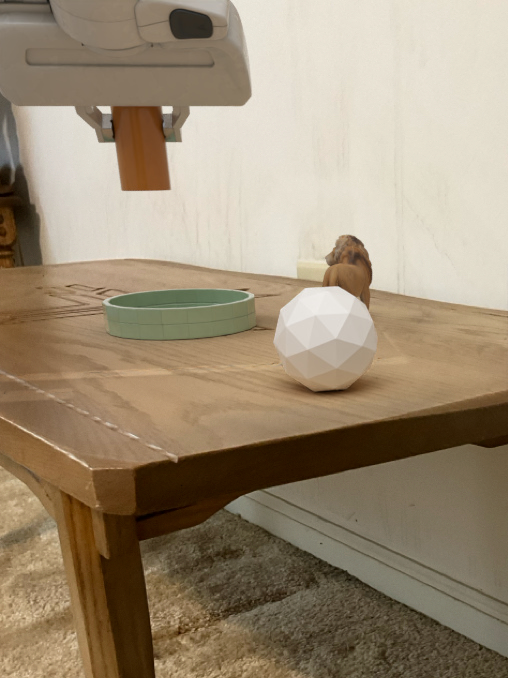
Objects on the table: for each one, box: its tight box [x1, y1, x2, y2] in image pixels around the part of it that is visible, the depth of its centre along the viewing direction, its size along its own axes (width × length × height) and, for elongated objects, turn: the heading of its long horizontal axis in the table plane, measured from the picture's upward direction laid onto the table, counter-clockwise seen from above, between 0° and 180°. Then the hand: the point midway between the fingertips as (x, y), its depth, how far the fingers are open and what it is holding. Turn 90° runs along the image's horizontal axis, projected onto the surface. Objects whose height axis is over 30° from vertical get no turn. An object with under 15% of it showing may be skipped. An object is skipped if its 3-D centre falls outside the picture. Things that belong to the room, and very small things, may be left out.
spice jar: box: [109, 106, 172, 192], centre depth 75 cm, size 4×4×9 cm
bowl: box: [101, 287, 257, 341], centre depth 88 cm, size 15×15×4 cm
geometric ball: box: [272, 286, 379, 393], centre depth 64 cm, size 8×8×8 cm
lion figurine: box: [321, 234, 373, 311], centre depth 89 cm, size 15×5×9 cm, turn 0°
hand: (141, 137), depth 76 cm, fingers closed on spice jar, 4 cm apart
